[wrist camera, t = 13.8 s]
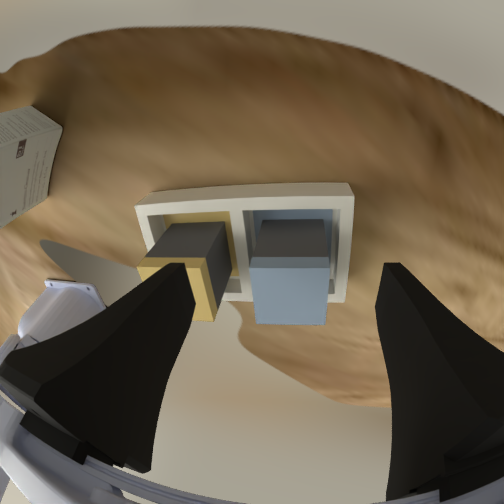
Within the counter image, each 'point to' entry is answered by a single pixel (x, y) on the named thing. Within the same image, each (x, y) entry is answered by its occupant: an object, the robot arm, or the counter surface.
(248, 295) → the rack
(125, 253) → the counter surface
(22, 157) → the skincare box
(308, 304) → the blue plug
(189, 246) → the ochre plug
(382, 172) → the counter surface
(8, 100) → the counter surface
